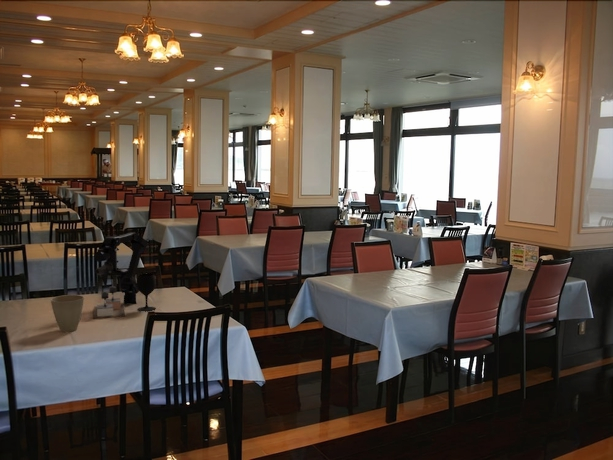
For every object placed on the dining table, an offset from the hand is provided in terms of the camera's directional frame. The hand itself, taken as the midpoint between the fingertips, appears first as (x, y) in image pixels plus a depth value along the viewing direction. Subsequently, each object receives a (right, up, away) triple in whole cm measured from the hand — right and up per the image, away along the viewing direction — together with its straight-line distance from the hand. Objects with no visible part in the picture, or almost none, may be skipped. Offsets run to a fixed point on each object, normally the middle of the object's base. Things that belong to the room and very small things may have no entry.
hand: (112, 286), depth 316 cm
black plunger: (+1, -10, -14) cm, 17 cm away
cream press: (+1, -14, -13) cm, 19 cm away
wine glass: (+19, -13, +1) cm, 23 cm away
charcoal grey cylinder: (0, -8, +1) cm, 8 cm away
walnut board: (+1, -14, -6) cm, 15 cm away
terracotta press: (0, -13, +1) cm, 13 cm away
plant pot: (-7, -17, -42) cm, 46 cm away
